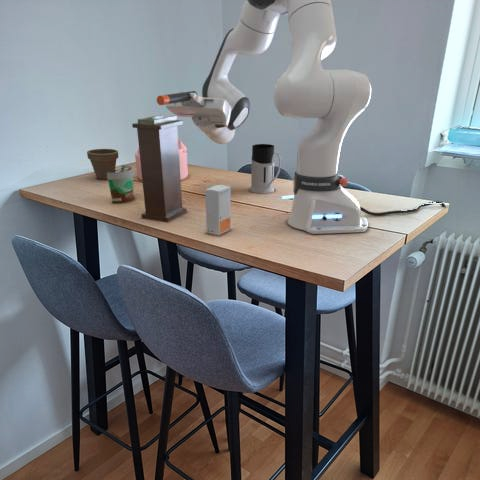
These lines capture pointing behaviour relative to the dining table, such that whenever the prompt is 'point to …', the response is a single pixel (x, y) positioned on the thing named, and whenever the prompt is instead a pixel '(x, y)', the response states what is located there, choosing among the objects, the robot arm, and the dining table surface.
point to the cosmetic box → (218, 209)
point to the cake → (181, 159)
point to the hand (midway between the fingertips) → (186, 94)
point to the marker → (174, 98)
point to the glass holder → (263, 168)
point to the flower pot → (103, 161)
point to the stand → (160, 167)
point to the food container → (121, 184)
